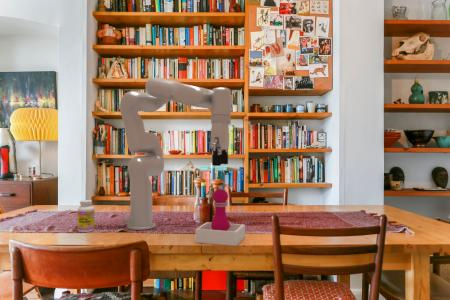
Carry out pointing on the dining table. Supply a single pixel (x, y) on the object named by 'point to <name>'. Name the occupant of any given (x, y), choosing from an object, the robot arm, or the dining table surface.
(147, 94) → the robot arm
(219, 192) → the pepper mill
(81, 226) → the supplement bottle
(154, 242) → the dining table surface
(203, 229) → the tote
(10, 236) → the dining table surface
